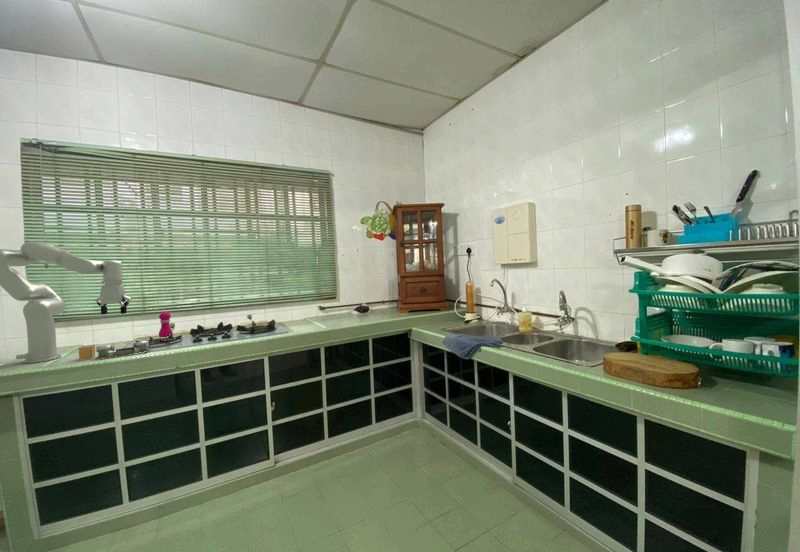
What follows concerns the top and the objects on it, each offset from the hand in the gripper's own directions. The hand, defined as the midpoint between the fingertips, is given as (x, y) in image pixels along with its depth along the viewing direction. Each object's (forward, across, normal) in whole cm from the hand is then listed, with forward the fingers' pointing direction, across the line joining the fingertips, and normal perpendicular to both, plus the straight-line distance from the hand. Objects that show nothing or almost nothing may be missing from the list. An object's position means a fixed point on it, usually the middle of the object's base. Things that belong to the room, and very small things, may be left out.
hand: (113, 313), depth 168 cm
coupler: (+22, -7, -9) cm, 24 cm away
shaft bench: (+22, +8, -5) cm, 24 cm away
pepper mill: (+22, +10, +26) cm, 36 cm away
